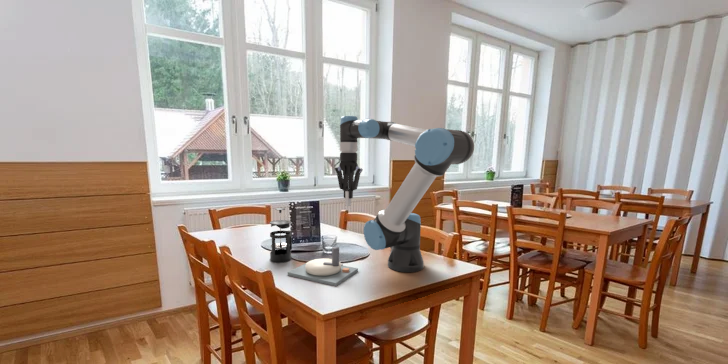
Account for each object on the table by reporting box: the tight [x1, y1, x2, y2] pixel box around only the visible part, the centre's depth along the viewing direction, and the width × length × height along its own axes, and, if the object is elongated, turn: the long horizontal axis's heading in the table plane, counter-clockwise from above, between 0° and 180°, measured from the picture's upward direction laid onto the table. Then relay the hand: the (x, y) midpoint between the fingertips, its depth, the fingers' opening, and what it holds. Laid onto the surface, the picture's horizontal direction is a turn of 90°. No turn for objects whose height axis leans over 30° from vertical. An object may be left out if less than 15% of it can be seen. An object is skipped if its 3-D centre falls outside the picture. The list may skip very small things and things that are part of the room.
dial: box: [306, 246, 341, 276], centre depth 130 cm, size 14×14×9 cm
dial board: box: [287, 262, 359, 287], centre depth 131 cm, size 22×18×2 cm
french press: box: [269, 207, 293, 264], centre depth 146 cm, size 12×9×23 cm
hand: (348, 205), depth 146 cm, fingers closed
